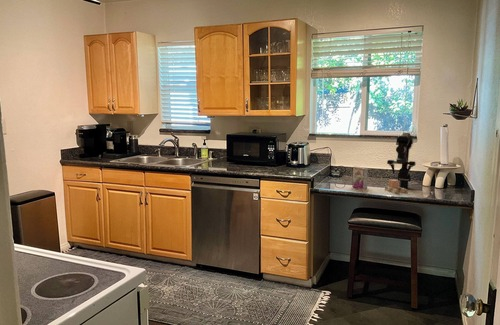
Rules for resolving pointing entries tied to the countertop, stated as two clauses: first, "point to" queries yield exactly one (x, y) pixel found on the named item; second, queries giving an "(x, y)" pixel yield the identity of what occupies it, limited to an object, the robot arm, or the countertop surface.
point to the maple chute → (396, 190)
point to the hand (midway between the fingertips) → (400, 174)
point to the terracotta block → (394, 184)
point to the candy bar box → (360, 177)
